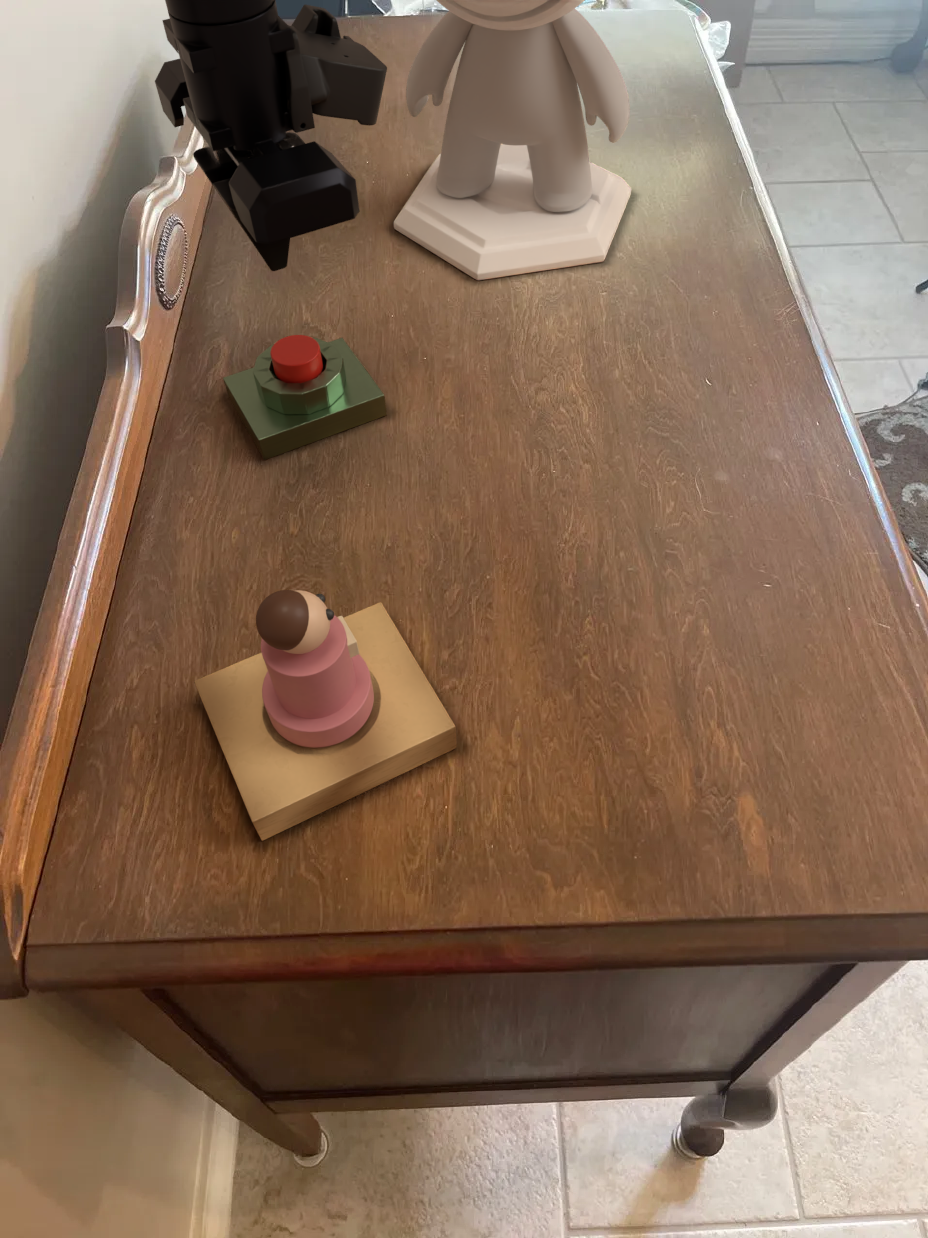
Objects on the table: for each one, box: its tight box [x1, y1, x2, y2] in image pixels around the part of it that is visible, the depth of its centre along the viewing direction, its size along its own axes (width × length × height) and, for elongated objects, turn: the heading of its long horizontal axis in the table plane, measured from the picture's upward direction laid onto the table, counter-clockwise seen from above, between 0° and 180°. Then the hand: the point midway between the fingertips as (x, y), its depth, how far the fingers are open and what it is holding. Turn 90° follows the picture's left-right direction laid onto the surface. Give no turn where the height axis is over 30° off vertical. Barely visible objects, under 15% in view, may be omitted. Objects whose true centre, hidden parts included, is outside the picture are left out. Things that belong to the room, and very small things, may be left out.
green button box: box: [222, 337, 388, 461], centre depth 70 cm, size 10×8×4 cm
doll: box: [255, 589, 374, 748], centre depth 48 cm, size 6×6×10 cm
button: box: [270, 334, 323, 383], centre depth 68 cm, size 4×4×2 cm
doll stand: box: [193, 601, 458, 842], centre depth 53 cm, size 12×10×2 cm
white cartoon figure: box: [393, 0, 632, 281], centre depth 73 cm, size 20×23×35 cm
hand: (277, 266), depth 62 cm, fingers closed
